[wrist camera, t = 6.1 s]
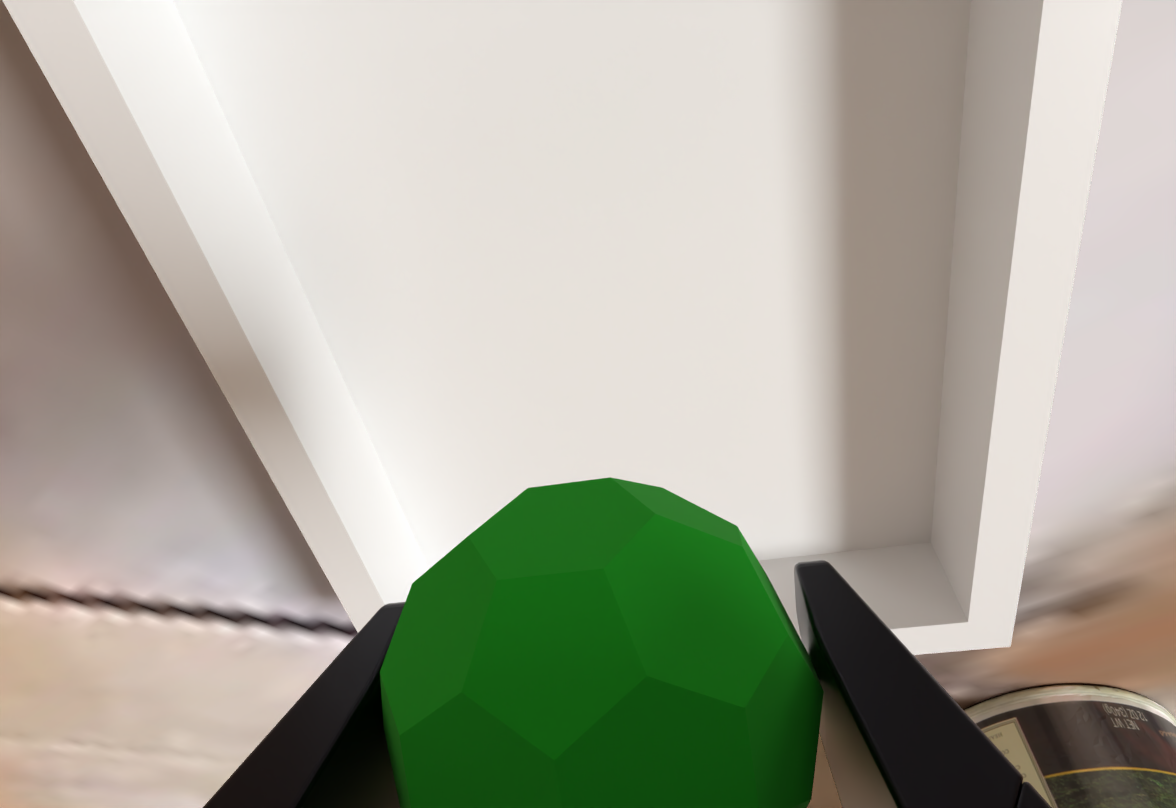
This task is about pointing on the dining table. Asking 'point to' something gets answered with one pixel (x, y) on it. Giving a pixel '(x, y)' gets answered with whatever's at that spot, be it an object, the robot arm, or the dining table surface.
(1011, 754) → the coffee can
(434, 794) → the polyhedron
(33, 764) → the dining table surface
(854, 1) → the white tray
